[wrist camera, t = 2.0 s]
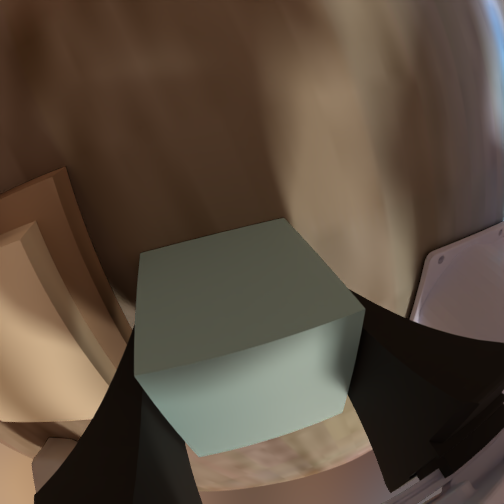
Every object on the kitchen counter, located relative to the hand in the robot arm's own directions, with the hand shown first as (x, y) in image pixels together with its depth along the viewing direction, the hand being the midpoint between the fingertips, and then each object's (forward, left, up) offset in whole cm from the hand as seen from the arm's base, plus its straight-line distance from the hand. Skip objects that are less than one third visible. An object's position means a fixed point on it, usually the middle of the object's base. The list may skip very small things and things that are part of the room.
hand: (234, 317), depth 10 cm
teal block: (0, 0, -1) cm, 1 cm away
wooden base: (+9, -1, -1) cm, 9 cm away
